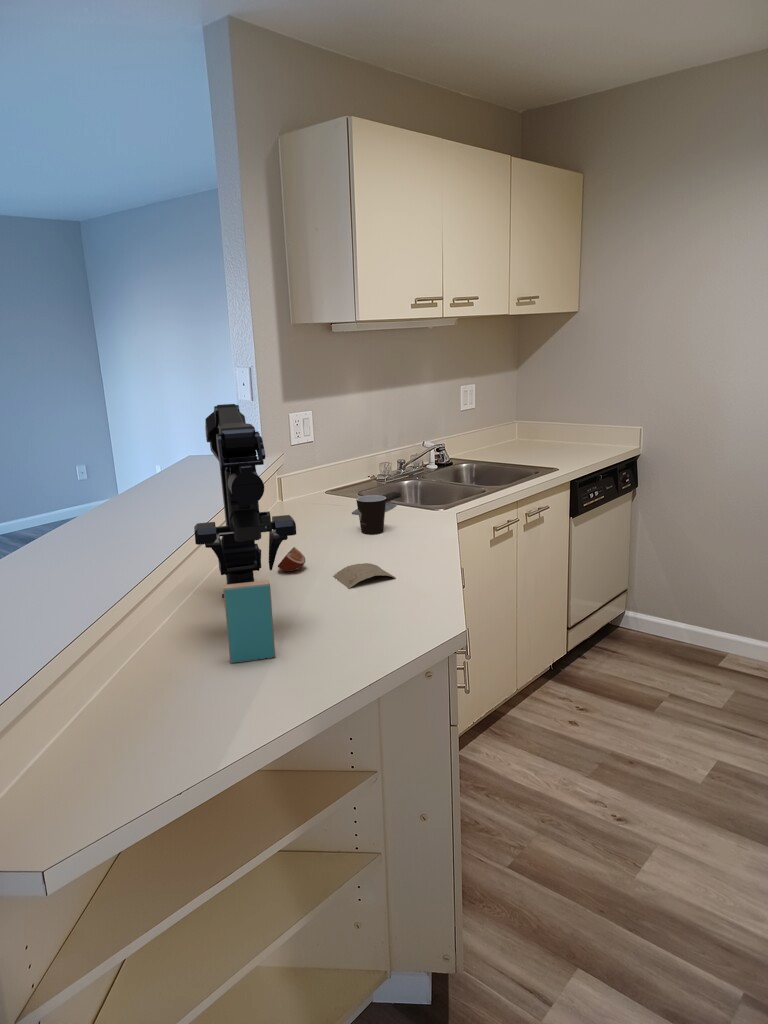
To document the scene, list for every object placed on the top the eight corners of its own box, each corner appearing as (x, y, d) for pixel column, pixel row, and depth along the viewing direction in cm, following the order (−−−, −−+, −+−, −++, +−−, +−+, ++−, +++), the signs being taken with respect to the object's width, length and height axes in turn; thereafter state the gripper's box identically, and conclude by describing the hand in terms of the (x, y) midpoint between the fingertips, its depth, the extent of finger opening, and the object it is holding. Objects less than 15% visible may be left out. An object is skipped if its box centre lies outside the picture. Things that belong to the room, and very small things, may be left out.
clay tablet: (380, 569, 179) (380, 558, 178) (401, 580, 170) (401, 569, 170) (328, 580, 172) (327, 569, 171) (347, 592, 164) (346, 581, 163)
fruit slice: (283, 564, 183) (282, 545, 182) (309, 565, 182) (308, 546, 181) (274, 575, 175) (272, 555, 174) (301, 575, 174) (300, 556, 173)
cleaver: (387, 496, 258) (387, 490, 257) (413, 498, 254) (412, 492, 253) (349, 516, 232) (349, 510, 231) (376, 519, 228) (376, 512, 227)
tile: (229, 658, 130) (223, 585, 127) (274, 652, 132) (269, 580, 129) (230, 664, 128) (223, 589, 125) (275, 658, 130) (270, 584, 126)
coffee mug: (384, 536, 206) (383, 501, 204) (355, 535, 207) (353, 501, 205) (390, 525, 217) (389, 493, 215) (362, 525, 219) (361, 492, 216)
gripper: (191, 507, 126) (199, 591, 130) (298, 498, 131) (303, 579, 134) (191, 494, 137) (198, 572, 140) (289, 486, 141) (294, 562, 145)
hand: (248, 572), depth 140 cm, fingers open, 8 cm apart
